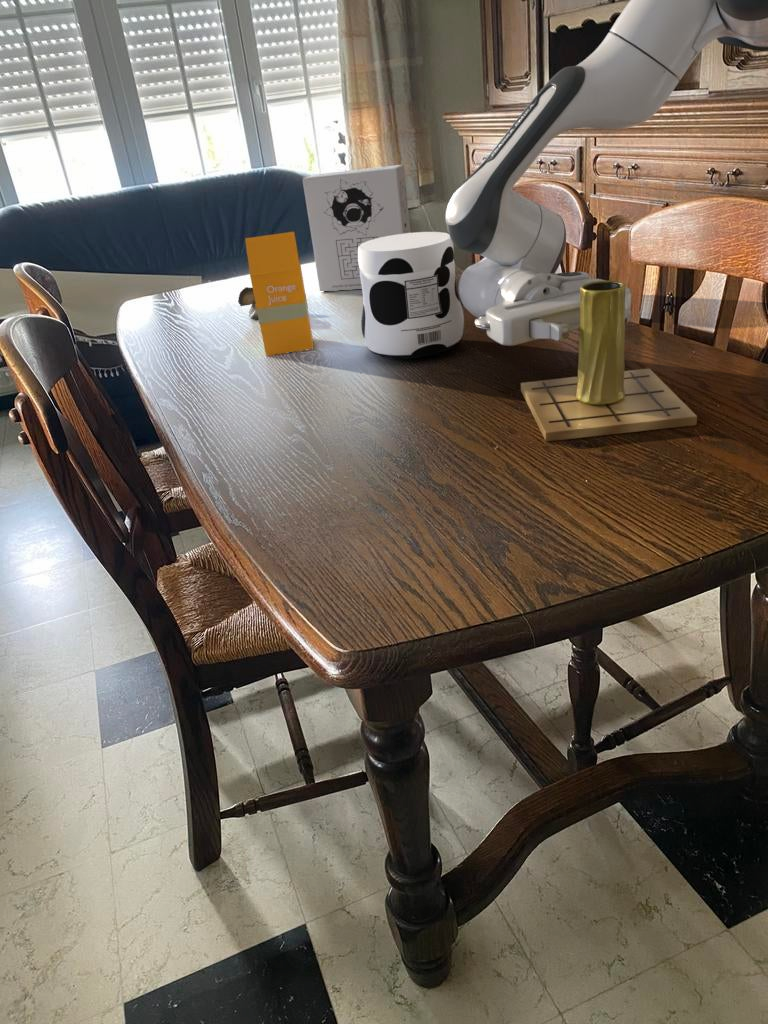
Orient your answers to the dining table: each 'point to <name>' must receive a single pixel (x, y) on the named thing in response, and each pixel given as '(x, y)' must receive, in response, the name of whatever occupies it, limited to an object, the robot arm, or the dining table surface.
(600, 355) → the vase
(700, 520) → the dining table surface
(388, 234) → the cereal box
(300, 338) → the orange juice
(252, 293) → the eagle figurine
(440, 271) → the milk container
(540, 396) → the board
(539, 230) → the robot arm
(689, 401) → the dining table surface
